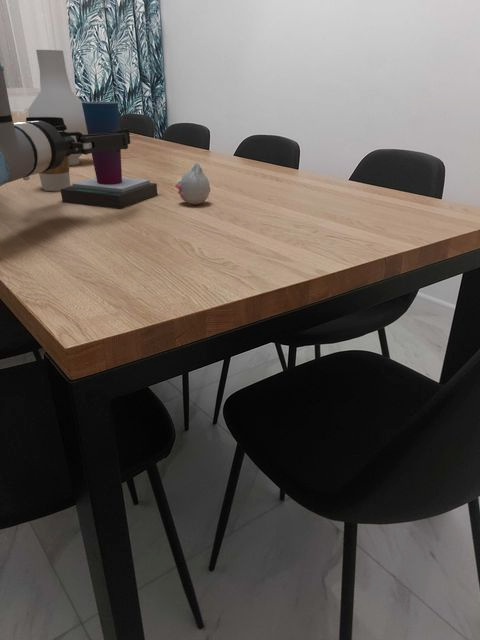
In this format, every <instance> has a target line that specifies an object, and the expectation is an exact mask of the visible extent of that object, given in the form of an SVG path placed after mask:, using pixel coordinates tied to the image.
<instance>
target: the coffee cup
mask: <svg viewBox="0 0 480 640" xmlns="http://www.w3.org/2000/svg"><path fill="white" fill-rule="evenodd" d="M31 121H44V122H47V123H49V124H50V125H52V126H53V127H55V126H63V127H64V131H65V130H67V128H66V125H65V124H64V120H63V118H60V117H29V116H27V117H25V122H31ZM65 132H66V131H65ZM38 175H39V179H40V183H41V184H40V185H41V187H42V190H43V191H47V192H61V190H60V189H64V188H67V187H71V176H70V165H69V159H68V156H65V157H64V160H63V162H62V163H61V165H60V166H58V167H57V168H55V169H52V170H49V171H45V172H41V173H38Z"/></svg>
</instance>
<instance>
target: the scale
mask: <svg viewBox="0 0 480 640" xmlns="http://www.w3.org/2000/svg"><path fill="white" fill-rule="evenodd" d="M60 190H61V191H60V196H61V201H62V203H70V204H77V205H87V206H93V207H102V208H109V209H110V208H111V209H118V210H120V209H123V208H126V207H130V206H132V205H135V204H137V203H140V202H142V201H145V200H148V199H151V198H153V197H157V196H158V184H157V183H155V182H151V180H150V179H143V178H136V177H135V178H134V177H133V178H132V177H125V176H122V183H119V184H111V185H105V184H99V183H97V178H96V176H94V177H92V178H87V179H83V180H81V181H76V182H73V183H72V184H71V185H70V187H67V188H64V189H60Z"/></svg>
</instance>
